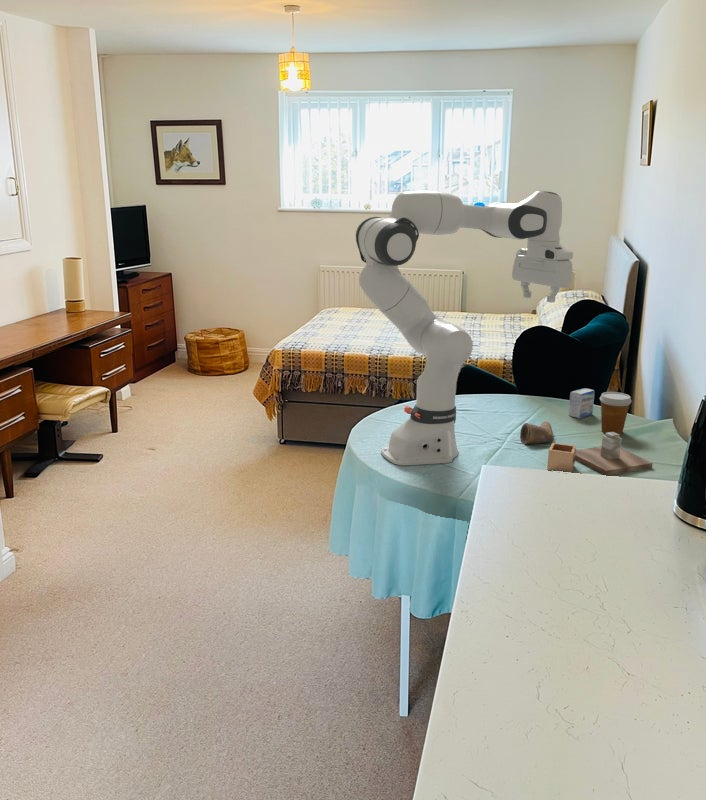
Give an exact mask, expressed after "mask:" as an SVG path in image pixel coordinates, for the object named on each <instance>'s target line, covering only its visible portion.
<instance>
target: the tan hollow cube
mask: <svg viewBox="0 0 706 800" xmlns="http://www.w3.org/2000/svg"><path fill="white" fill-rule="evenodd" d="M576 450H577V445H572V444H564V443H556V442H552V443H551V445H550V446H549V449H548V455H547V467H546V470H553V471H563V472H572V473H573V471H574V467H575V463H576V460H575V454H576ZM553 471H552V472H553Z"/></svg>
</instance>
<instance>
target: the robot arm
mask: <svg viewBox="0 0 706 800" xmlns="http://www.w3.org/2000/svg"><path fill="white" fill-rule="evenodd" d="M391 205H392V206H391V212H390V213H389V215H388V216H387V217H386V218H385V217H379V216H372V217H370V218H369V217H368V218H366V219H365V220H363V221H362V222H361V223H360V224H359V225H358V227H357V228H356V231H355V242H356V246H357V249H358V251H359V257H360V260H361V261H362V262H364V263H365V266H364V268H363V269H362V270H361V272H360V274H359V276H358V277H359V278H358V284H359V286H360V288H361V289H362V291H363V292H364V293H363V294H364V295H366V297H367V298H368V299H369V300H370V302H371V303H372V304H373V305H374V307H375V308H377V309H378V311H380V312H381V313H382V315H384V316H385V318H387V319H388V320H389V321H390V322H391V323H392V324H393V325H394V327H396V328H397V330H399V332H400V333H401V335H402V336H403V337H404V339H405V340H406V341H407V343H408V345H410V346H411V348H412V349H413V350H415V351H416V352H417V353H418V354H420V355H423V356H425V358H426V359H425V360H426V361H425V365H424V368H423V372H422V373H421V374H420V375H419V376H418V377H417V380H416V401H415V402H416V403H415V404H414V406H413V408H412V407H410V406H409V405H406V406H404V408H403V411H404V412H405V413H406V414H407V415H410V418H408V419H407V420H406V421H404V422H403V423H402V424H401V425H399V427H397V428H395V429H394V430H393V431H392V432H391V434H390V437H389V442H388V443H389V444H388V445H386V446H383V447H381V451H380V452H381V455H382V456H383V458H384V459H386V460H387V461H389V462H391V463H392V464H395V465H399V466H417V465H435V464H451V463H452V462H453V459H454V458H456V457H457V456H458V455H459V451H458V450H459V449H458V446H457V439H456V430H455V429H456V428H455V424H456V420H457V419H456V418H457V405H456V392H457V381H458V377H459V374H460V370H461V369H462V365H463V364H464V362H466V361H468V358H469V357H470V356H471V354H472V352H473V349H474V348H473V340H472V337H471V336H470V334H469V333H468V332H466V331H465V329H463V328H462V327H461V326H459V325H457V324H454V323H451V322H447V321H445V320H443V319H442V318H440V317H438V316H437V315H436V314H435V313H434V312H433V311H432V309H431V307H430V306H429V303H428V299H426V297H425V296H424V295H423V294H422V293H421V292H420V291H419V290H418V289H417V288H416V287H415V286H414V284H413V283H412V282H411V281H410V280H408V279H407V277H406V276H405V275H403V274H402V272H401V270H400V269H399V267H398V266H402V265H404V264H407V262H409V261H410V260H411V258H412V256H413V255H414V253H415V251H416V248H417V243H418V242H417V241H418V239H419V238H420V234H423V235H434V236H441V235H443V236H444V235H453V234H455V233H456V232H457V231H459V230H460V228H464V229H474V230H481V231H483V232H484V233H486V234H487V235H488V236H491V237H493V238H496V239H497V238H501V239H503V238H504V239H512V240H521V241H522V240H525V239H527V243H526V248H519V250H517V251H516V253H515V258H514V261H513V266H512V271H511V272H512V273H511V277H512V278H511V279H513V281H516V282H520V286H521V289H522V292H523V293H522V297H523V298H526V299H531V298H532V291H530V288H529V286H530V284H536V285H541V286H542V285H543V286H547V287H550V294H549V295H547V296H546V302H548V303H555V302H556V296H557V295H558V293H559V291H560V289H563V288H564V289H565V288H569V287H570V286H571V284H572V282H573V281H572V279H573V263H572V261H571V260H572V259H573V257H574V252H573V250H570V249H568V248H566V247H565V246H563V245H562V244H561V243H560V242H561V238H560V230H561V229H560V228H561V227H562V220H563V202H562V198H561V196H560V195H559V194H558V193H556V192H553V191H548V190H547V191H546V190H536V191H534V192H533V193H532V194H531V195H529V196H528V197H527V198H525V199H523V200H521V201H518V202H517V203H516V202H505V201H495V202H492V203H490V204H487V205H484V206H483V205H482V206H479V205H472V204H471V205H469V204H465V203H464V202H463V201H462V199H461V198H460V197H459V196H457V195H454V194H451V193H448V192H444V191H443V192H442V191H436V190H435V191H434V190H409V191H408V190H407V191H403V192H401V193H399V194H397V195H396V197H395V198H394V199H393V202H392V204H391Z"/></svg>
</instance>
